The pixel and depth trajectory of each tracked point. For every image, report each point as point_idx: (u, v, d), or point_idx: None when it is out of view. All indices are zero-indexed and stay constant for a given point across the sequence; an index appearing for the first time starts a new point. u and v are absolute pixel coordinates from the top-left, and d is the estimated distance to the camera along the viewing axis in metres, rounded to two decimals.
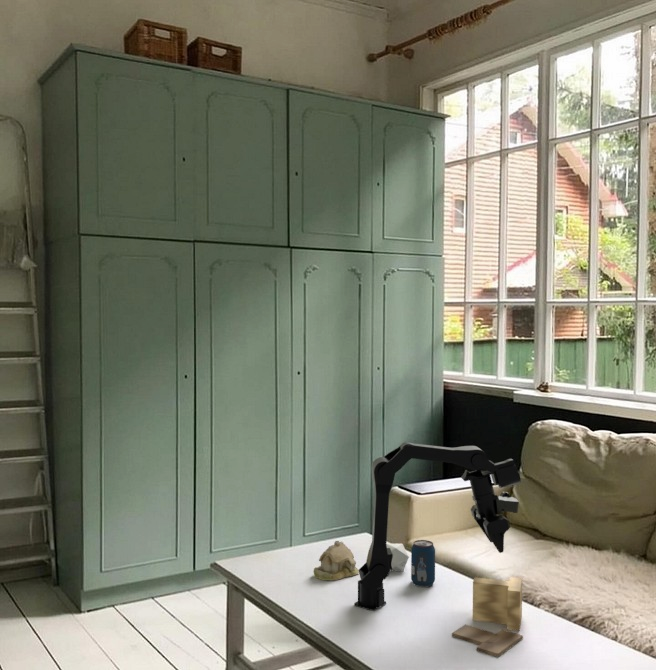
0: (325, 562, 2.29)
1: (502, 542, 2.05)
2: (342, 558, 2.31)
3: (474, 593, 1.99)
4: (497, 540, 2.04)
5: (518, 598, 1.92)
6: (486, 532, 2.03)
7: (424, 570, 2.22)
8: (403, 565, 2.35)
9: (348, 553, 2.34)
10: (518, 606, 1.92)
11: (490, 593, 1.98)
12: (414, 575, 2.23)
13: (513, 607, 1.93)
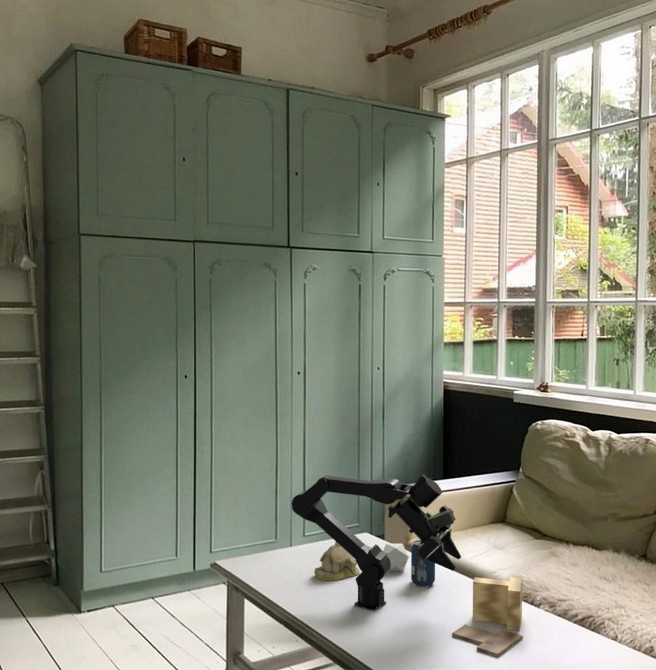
0: (326, 562, 2.29)
1: (448, 559, 1.96)
2: (342, 558, 2.30)
3: (474, 593, 1.99)
4: (441, 560, 1.96)
5: (518, 598, 1.92)
6: None
7: (424, 570, 2.22)
8: (403, 565, 2.35)
9: None
10: (518, 606, 1.92)
11: (490, 593, 1.98)
12: (414, 575, 2.23)
13: (513, 607, 1.93)
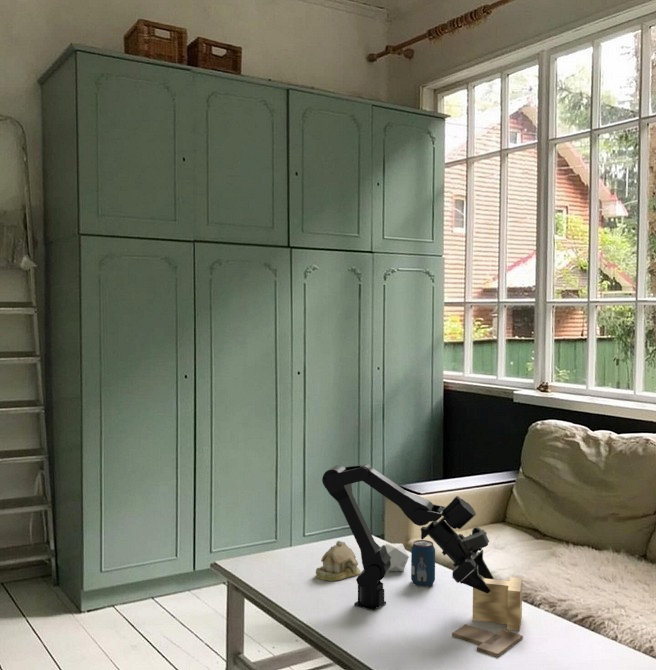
0: (327, 562, 2.29)
1: (482, 582, 1.94)
2: (344, 558, 2.30)
3: (474, 593, 1.99)
4: (476, 583, 1.95)
5: (518, 598, 1.92)
6: (460, 581, 1.95)
7: (424, 570, 2.22)
8: (403, 565, 2.35)
9: (350, 553, 2.34)
10: (518, 606, 1.92)
11: (490, 593, 1.98)
12: (414, 575, 2.23)
13: (513, 607, 1.93)
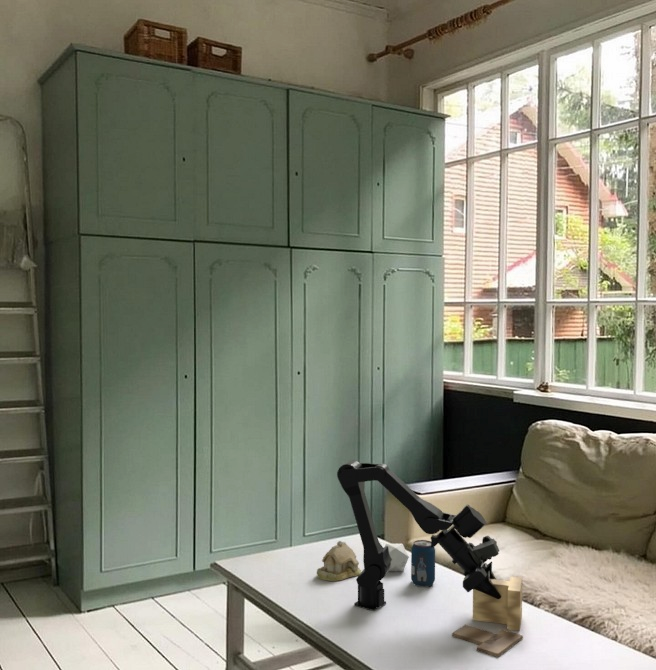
0: (329, 563, 2.29)
1: (494, 588, 1.96)
2: (345, 558, 2.30)
3: (474, 593, 1.99)
4: (487, 589, 1.96)
5: (518, 598, 1.92)
6: None
7: (424, 570, 2.22)
8: (403, 565, 2.35)
9: (351, 553, 2.34)
10: (518, 606, 1.92)
11: None
12: (414, 575, 2.23)
13: (513, 607, 1.93)
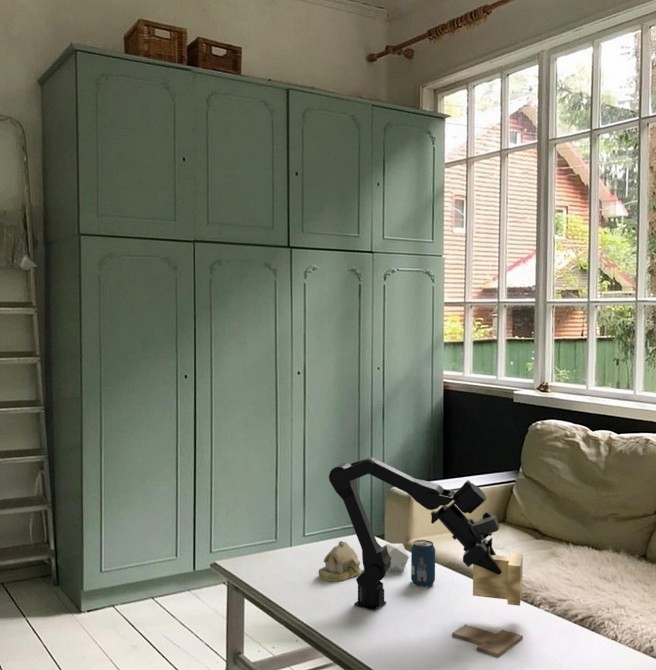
0: (330, 563, 2.29)
1: (494, 563, 1.96)
2: (347, 558, 2.30)
3: (474, 568, 1.98)
4: (487, 564, 1.96)
5: (518, 573, 1.92)
6: None
7: (424, 570, 2.22)
8: (403, 565, 2.35)
9: (352, 553, 2.34)
10: (518, 581, 1.92)
11: None
12: (414, 575, 2.23)
13: (514, 582, 1.92)
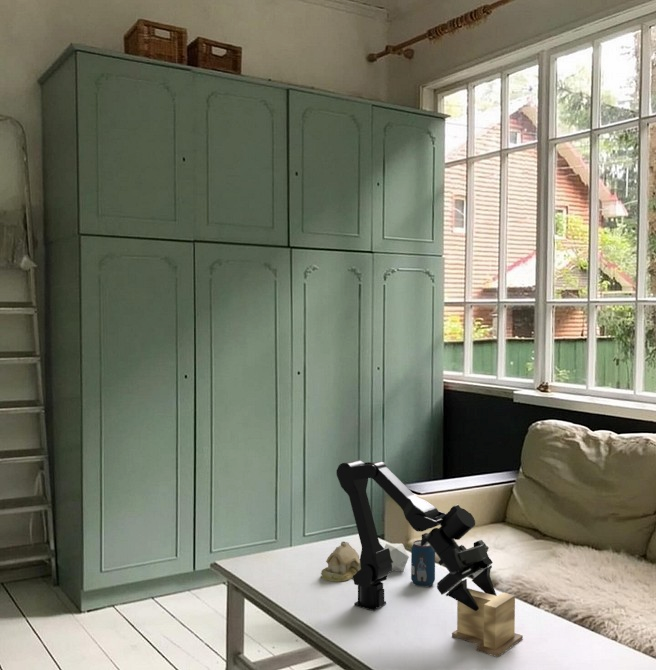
0: (334, 563, 2.28)
1: (470, 598, 1.83)
2: (349, 558, 2.30)
3: (458, 603, 1.89)
4: (463, 598, 1.84)
5: (494, 614, 1.80)
6: None
7: (424, 570, 2.22)
8: (403, 565, 2.35)
9: (354, 553, 2.34)
10: (494, 623, 1.80)
11: None
12: (414, 575, 2.23)
13: (489, 623, 1.81)
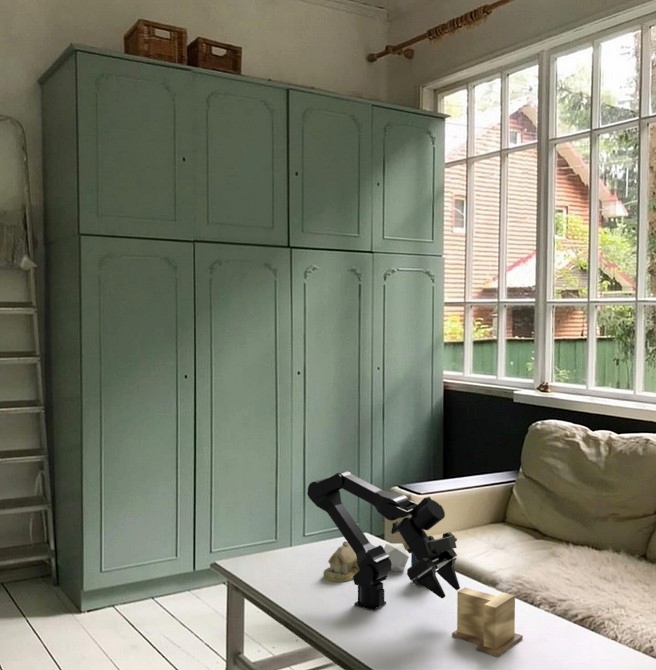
0: (336, 563, 2.28)
1: (438, 586, 1.89)
2: (351, 558, 2.30)
3: (458, 603, 1.89)
4: (431, 585, 1.90)
5: (494, 614, 1.80)
6: None
7: None
8: (403, 565, 2.35)
9: None
10: (494, 623, 1.80)
11: (473, 605, 1.87)
12: None
13: (489, 623, 1.81)
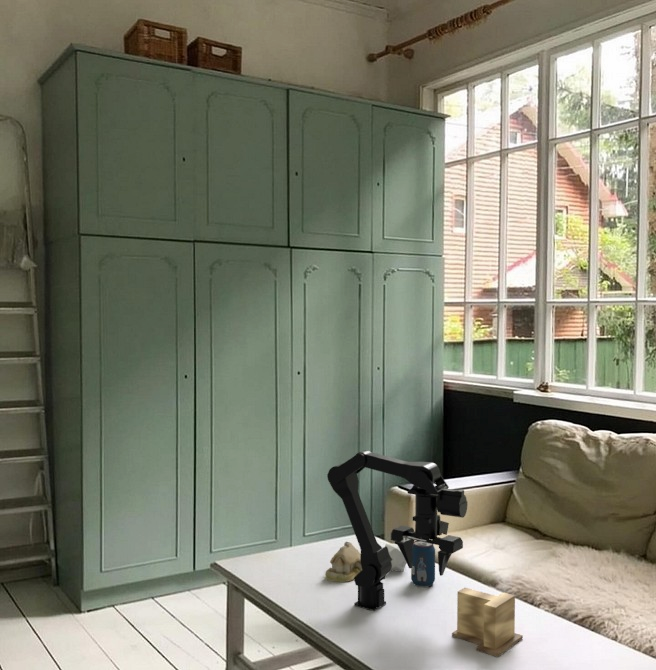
0: (338, 564, 2.28)
1: (446, 564, 1.98)
2: (353, 559, 2.30)
3: (458, 603, 1.89)
4: (444, 561, 1.96)
5: (494, 614, 1.80)
6: (442, 552, 1.94)
7: (424, 570, 2.22)
8: (403, 565, 2.35)
9: (357, 553, 2.34)
10: (494, 623, 1.80)
11: (473, 605, 1.87)
12: (414, 575, 2.23)
13: (489, 623, 1.81)
